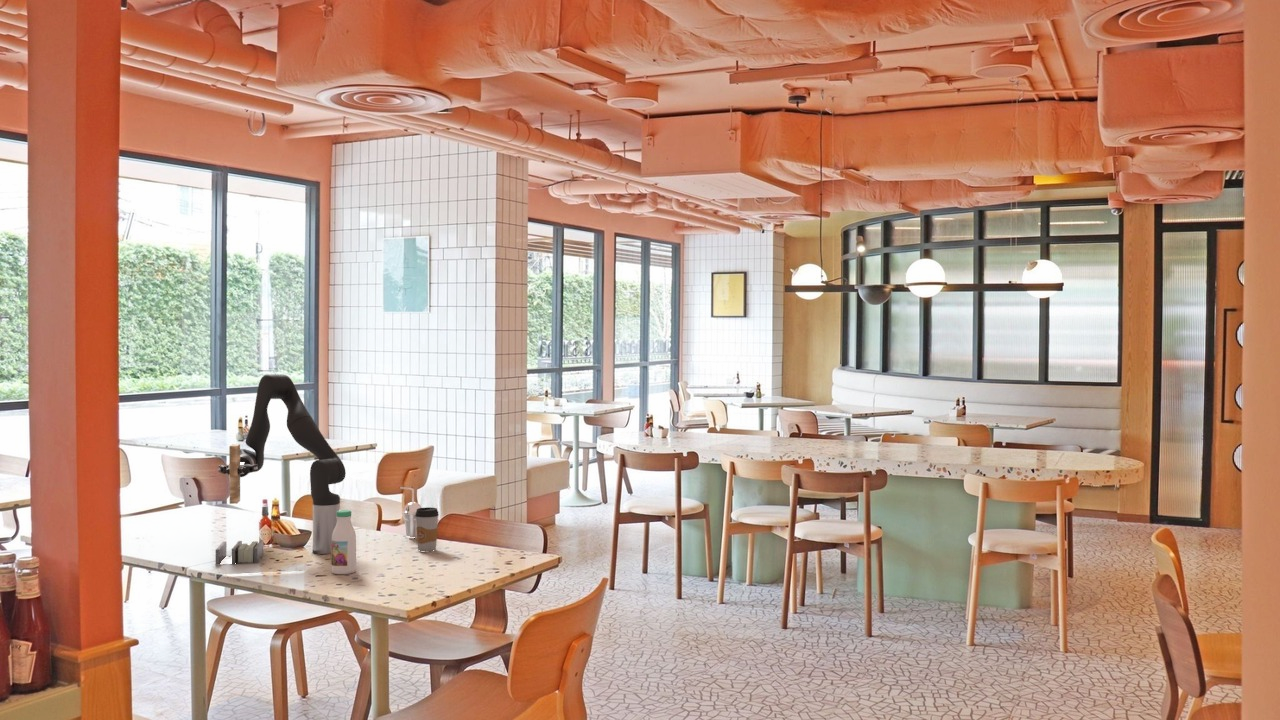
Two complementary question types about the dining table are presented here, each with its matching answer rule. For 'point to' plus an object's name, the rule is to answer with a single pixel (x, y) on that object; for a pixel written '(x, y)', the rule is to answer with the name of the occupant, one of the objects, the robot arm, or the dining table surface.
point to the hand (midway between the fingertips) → (233, 471)
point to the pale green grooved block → (246, 552)
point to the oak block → (234, 473)
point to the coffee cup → (426, 528)
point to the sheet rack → (222, 553)
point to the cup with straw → (410, 515)
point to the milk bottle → (343, 545)
